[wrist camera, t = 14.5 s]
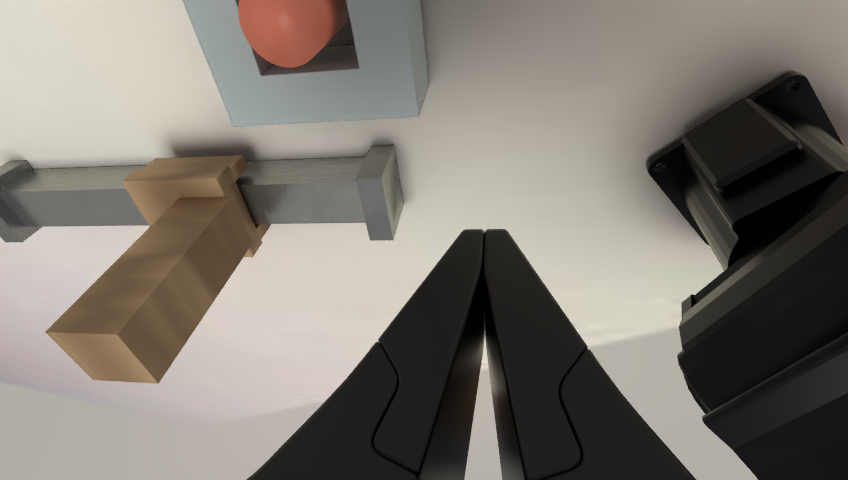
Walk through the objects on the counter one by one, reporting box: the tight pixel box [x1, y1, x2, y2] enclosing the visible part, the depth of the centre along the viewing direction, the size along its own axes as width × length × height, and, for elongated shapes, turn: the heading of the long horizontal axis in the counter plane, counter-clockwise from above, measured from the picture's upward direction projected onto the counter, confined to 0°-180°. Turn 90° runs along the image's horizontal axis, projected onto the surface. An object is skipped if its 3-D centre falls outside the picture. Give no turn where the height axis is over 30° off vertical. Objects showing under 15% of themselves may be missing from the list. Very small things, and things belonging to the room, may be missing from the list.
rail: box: [0, 145, 404, 242], centre depth 24 cm, size 24×4×3 cm, turn 96°
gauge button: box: [238, 0, 349, 68], centre depth 16 cm, size 3×3×4 cm
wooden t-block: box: [46, 155, 271, 383], centre depth 20 cm, size 5×5×11 cm
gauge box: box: [182, 0, 429, 127], centre depth 17 cm, size 8×8×4 cm
